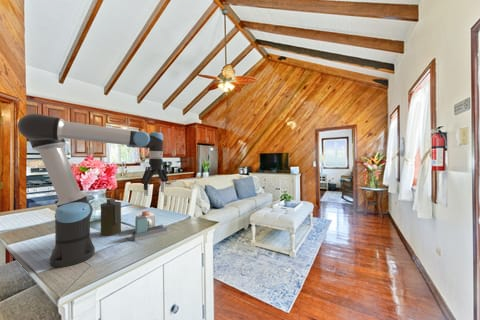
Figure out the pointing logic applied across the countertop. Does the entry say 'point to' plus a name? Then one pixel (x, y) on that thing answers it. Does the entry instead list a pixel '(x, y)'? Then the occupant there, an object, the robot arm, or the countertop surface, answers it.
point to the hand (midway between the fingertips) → (155, 193)
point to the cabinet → (149, 219)
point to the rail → (150, 232)
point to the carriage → (140, 224)
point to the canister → (110, 218)
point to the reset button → (145, 213)
